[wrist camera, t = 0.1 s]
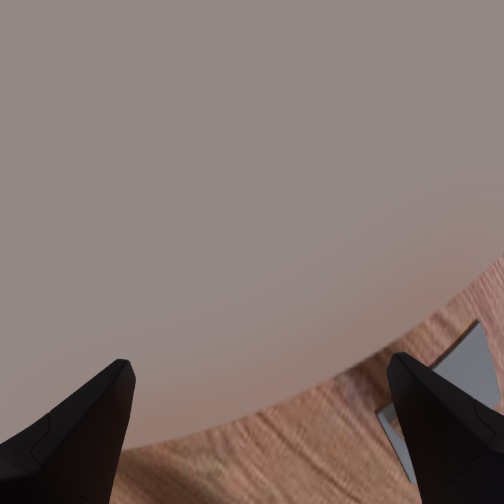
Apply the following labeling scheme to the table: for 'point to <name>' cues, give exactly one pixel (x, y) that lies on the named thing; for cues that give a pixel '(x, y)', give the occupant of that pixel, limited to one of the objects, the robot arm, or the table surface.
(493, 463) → the robot arm
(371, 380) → the table surface
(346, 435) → the table surface
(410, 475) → the slate mat
